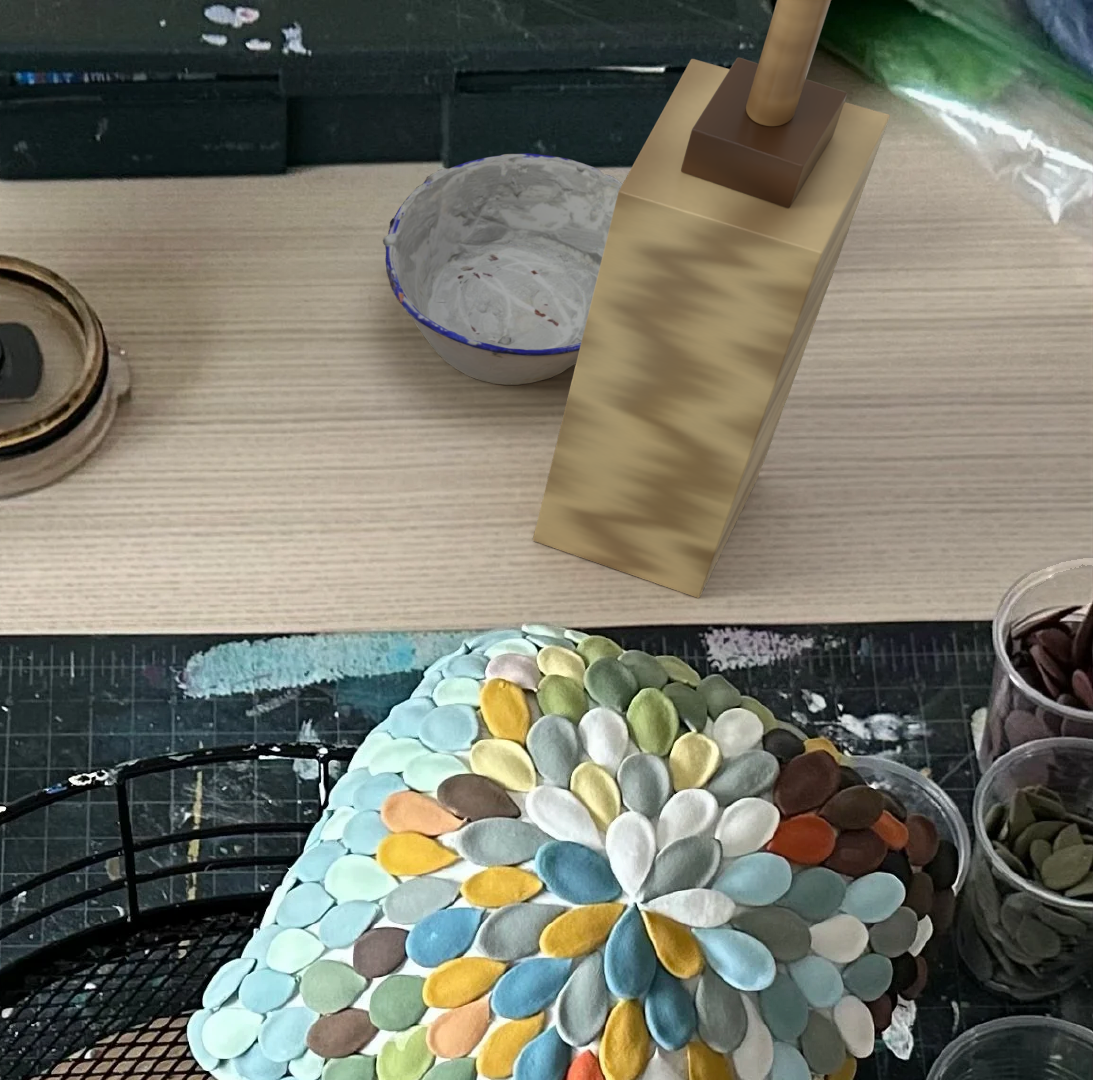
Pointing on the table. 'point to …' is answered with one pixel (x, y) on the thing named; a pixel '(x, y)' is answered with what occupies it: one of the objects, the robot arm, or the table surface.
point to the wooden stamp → (769, 113)
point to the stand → (693, 347)
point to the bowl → (503, 262)
